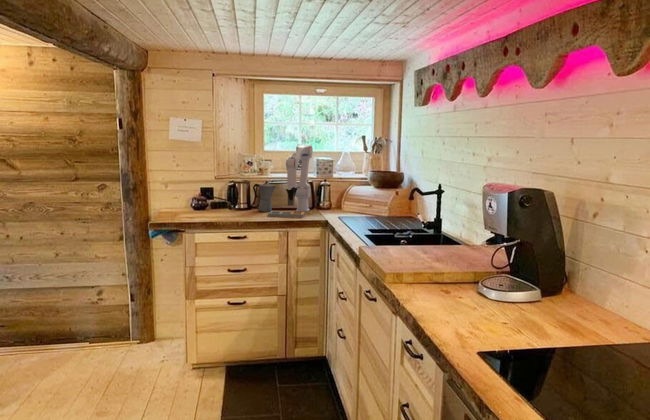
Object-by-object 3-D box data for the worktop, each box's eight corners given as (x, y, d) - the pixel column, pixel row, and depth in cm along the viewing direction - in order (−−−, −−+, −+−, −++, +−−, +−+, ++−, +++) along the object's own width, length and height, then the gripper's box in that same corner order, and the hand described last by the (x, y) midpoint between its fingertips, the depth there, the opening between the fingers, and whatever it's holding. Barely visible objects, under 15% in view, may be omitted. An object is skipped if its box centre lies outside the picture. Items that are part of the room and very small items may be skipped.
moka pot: (275, 212, 314) (275, 182, 311) (251, 212, 314) (251, 181, 311) (276, 210, 323) (276, 180, 320) (254, 209, 324) (253, 180, 320)
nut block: (288, 204, 303) (289, 192, 301) (294, 204, 302) (294, 192, 301) (287, 205, 299) (287, 192, 298) (293, 205, 299) (293, 193, 297)
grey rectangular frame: (271, 214, 308) (271, 210, 307) (305, 215, 304) (305, 212, 304) (268, 216, 300) (268, 212, 299) (302, 217, 297) (302, 214, 296)
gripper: (288, 176, 305) (288, 197, 308) (282, 179, 291) (282, 201, 294) (299, 177, 304) (299, 198, 307) (294, 179, 290) (293, 201, 292)
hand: (291, 199), depth 300 cm, fingers closed on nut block, 4 cm apart
